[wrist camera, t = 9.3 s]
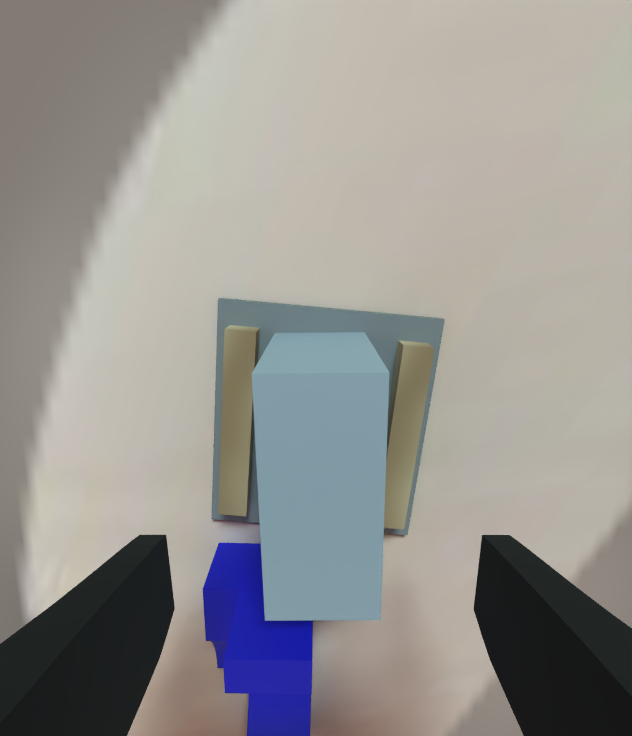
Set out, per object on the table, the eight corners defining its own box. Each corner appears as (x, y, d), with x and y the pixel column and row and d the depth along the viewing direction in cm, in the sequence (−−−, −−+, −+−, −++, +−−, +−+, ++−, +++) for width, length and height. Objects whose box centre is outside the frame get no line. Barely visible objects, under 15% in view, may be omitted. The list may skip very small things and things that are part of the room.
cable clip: (219, 540, 20) (178, 658, 14) (313, 542, 20) (312, 661, 14) (228, 726, 23) (198, 885, 17) (310, 727, 23) (307, 887, 17)
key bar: (361, 507, 19) (380, 619, 13) (281, 507, 19) (265, 620, 13) (364, 332, 17) (389, 372, 11) (274, 332, 17) (251, 373, 11)
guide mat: (442, 318, 17) (444, 319, 16) (406, 531, 19) (407, 535, 19) (219, 298, 17) (218, 298, 16) (213, 515, 19) (211, 519, 19)
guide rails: (427, 342, 17) (434, 348, 16) (399, 515, 19) (404, 529, 18) (230, 325, 17) (224, 329, 16) (223, 500, 19) (218, 514, 18)
